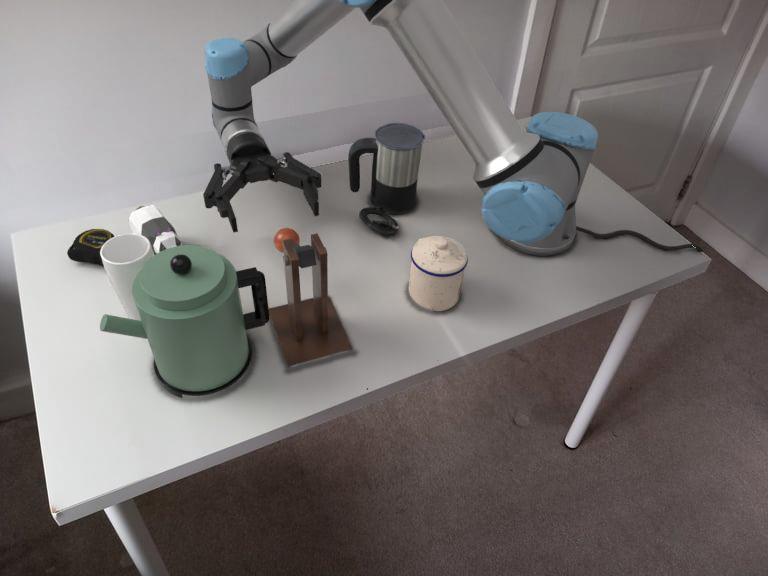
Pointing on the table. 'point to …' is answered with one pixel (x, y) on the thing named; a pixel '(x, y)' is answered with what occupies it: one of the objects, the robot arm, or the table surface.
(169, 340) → the kettle
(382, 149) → the milk frother
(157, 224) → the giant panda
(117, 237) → the drinking glass
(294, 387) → the table surface
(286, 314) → the switch base
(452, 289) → the teacup with lid
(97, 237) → the tape measure
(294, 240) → the switch lever
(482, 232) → the table surface
